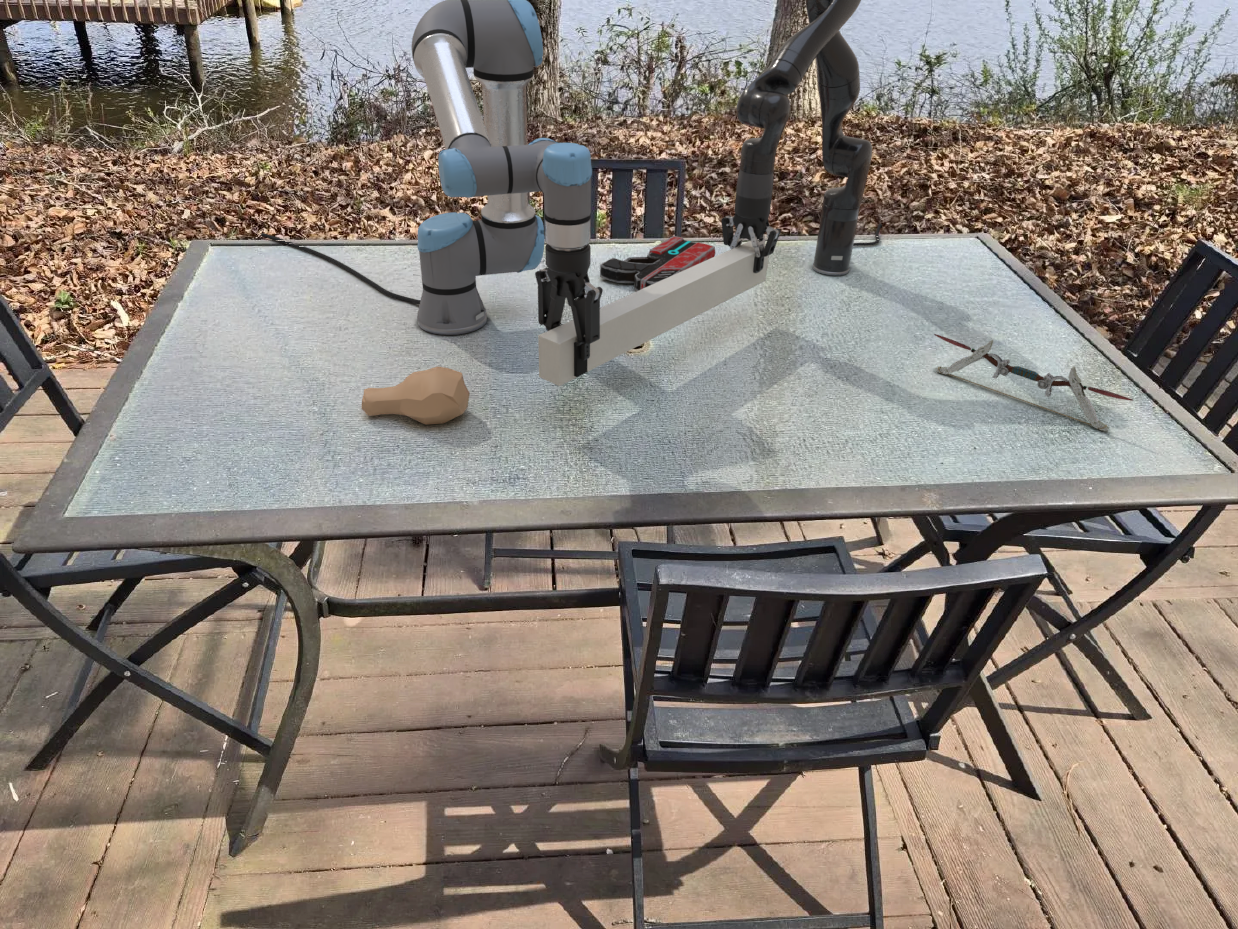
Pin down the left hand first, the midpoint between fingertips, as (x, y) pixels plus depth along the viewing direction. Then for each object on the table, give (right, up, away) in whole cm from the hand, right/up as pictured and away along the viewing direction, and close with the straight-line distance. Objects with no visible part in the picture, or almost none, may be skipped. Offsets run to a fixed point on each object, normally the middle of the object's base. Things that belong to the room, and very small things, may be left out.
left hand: (568, 368), depth 158 cm
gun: (+19, +32, +67) cm, 77 cm away
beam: (+18, +11, +19) cm, 29 cm away
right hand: (+37, +26, +36) cm, 58 cm away
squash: (-28, -8, +5) cm, 30 cm away
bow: (+88, -4, +16) cm, 89 cm away
